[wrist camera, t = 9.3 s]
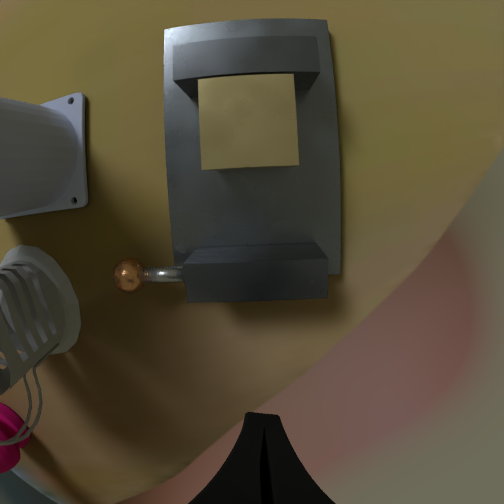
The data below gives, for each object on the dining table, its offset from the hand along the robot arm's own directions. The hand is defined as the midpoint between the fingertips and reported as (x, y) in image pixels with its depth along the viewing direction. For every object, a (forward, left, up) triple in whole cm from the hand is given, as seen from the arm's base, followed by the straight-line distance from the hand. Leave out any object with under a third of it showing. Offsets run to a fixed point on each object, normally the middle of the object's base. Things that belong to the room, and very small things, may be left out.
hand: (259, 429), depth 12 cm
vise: (0, +12, -9) cm, 15 cm away
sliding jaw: (-2, +5, -8) cm, 10 cm away
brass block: (0, +12, -8) cm, 15 cm away
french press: (-18, +1, -10) cm, 20 cm away
